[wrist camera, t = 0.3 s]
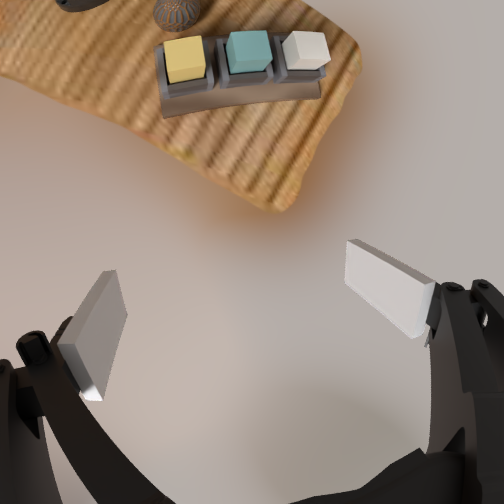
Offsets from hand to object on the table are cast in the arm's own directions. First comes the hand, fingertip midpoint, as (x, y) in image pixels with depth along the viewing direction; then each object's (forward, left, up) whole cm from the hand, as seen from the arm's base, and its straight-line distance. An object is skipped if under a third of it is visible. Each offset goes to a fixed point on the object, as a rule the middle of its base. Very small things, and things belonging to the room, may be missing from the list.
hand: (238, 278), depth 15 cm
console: (-20, +8, -28) cm, 35 cm away
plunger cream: (-20, +16, -23) cm, 35 cm away
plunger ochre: (-20, 0, -23) cm, 31 cm away
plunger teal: (-20, +8, -23) cm, 32 cm away
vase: (-31, 0, -28) cm, 42 cm away
